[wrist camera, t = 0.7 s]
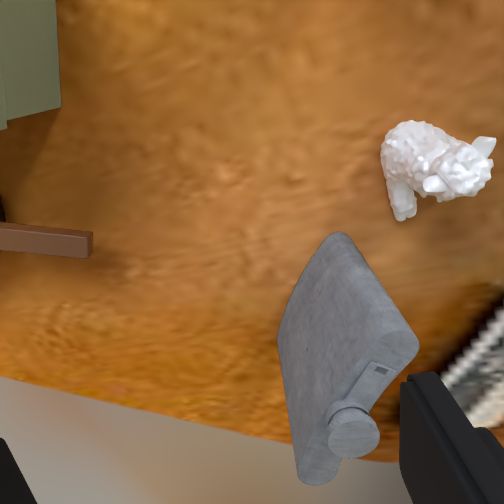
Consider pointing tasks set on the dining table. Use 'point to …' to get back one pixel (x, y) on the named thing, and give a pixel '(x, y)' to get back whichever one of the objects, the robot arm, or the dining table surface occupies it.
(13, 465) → the robot arm
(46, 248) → the pan
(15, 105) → the sage green box
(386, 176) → the sitting furry creature
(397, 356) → the hip flask
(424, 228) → the dining table surface
